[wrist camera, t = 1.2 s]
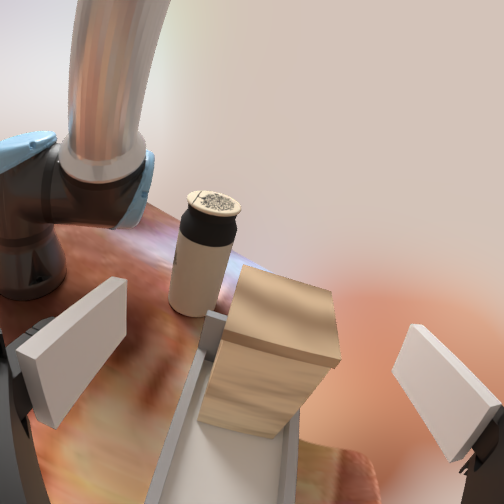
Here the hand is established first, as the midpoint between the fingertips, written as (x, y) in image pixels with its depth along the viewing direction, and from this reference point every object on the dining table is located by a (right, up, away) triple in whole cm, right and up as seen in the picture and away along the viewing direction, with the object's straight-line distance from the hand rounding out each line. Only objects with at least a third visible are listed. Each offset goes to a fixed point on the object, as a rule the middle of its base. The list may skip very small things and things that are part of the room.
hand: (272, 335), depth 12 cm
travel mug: (-11, -5, +36) cm, 38 cm away
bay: (-3, -19, +15) cm, 24 cm away
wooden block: (-2, -15, +21) cm, 25 cm away
